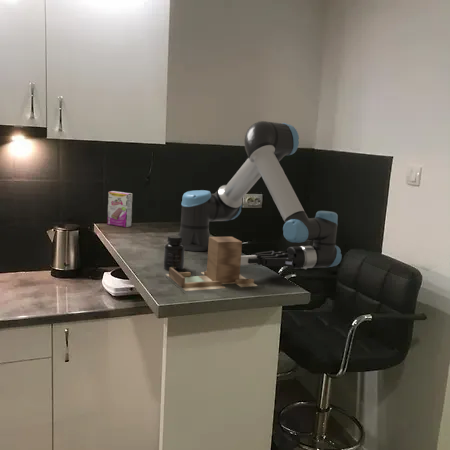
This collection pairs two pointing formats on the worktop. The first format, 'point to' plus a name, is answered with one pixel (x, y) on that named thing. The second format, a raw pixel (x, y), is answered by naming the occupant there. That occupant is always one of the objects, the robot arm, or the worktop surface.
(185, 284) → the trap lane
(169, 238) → the supplement bottle
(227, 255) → the walnut block
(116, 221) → the candy bar box
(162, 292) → the worktop surface
